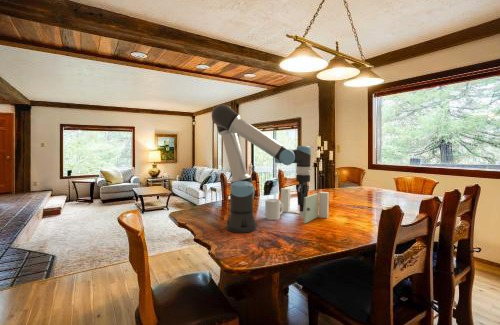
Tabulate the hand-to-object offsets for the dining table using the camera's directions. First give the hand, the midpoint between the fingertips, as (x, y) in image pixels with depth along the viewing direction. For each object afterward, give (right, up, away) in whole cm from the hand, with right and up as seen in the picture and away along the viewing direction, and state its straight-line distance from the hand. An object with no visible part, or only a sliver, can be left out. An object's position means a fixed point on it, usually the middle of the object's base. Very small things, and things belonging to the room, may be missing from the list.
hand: (302, 216), depth 147 cm
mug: (-14, -3, +10) cm, 18 cm away
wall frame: (+5, -2, +19) cm, 20 cm away
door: (+7, -3, +5) cm, 9 cm away
